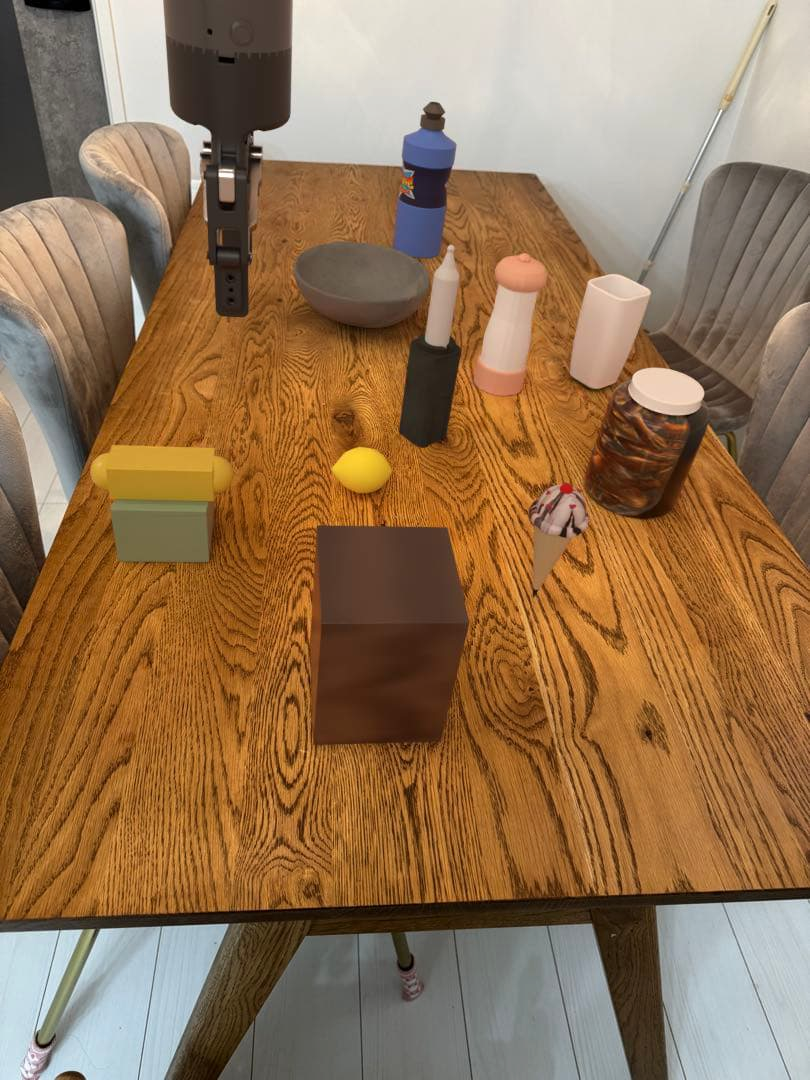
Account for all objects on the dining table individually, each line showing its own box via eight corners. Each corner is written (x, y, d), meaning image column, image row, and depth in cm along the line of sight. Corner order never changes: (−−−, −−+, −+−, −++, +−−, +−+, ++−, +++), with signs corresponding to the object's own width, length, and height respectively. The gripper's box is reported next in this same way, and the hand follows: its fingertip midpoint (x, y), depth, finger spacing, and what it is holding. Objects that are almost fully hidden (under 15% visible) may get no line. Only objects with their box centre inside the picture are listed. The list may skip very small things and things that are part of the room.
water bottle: (401, 258, 149) (418, 109, 133) (385, 238, 156) (400, 94, 140) (448, 257, 152) (470, 111, 136) (430, 238, 159) (450, 96, 143)
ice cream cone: (535, 572, 88) (568, 459, 79) (572, 604, 85) (612, 491, 75) (495, 590, 85) (525, 476, 76) (532, 625, 82) (569, 510, 72)
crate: (312, 745, 68) (321, 623, 59) (309, 646, 77) (316, 524, 67) (441, 741, 70) (469, 622, 60) (424, 645, 78) (447, 526, 69)
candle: (424, 419, 109) (452, 233, 93) (449, 437, 106) (483, 249, 90) (395, 429, 106) (419, 240, 90) (420, 449, 103) (450, 257, 87)
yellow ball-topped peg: (89, 499, 80) (84, 467, 77) (96, 474, 83) (91, 443, 80) (233, 502, 82) (232, 471, 80) (235, 478, 85) (234, 448, 82)
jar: (677, 529, 97) (723, 422, 87) (580, 506, 98) (615, 399, 88) (675, 474, 106) (716, 372, 96) (586, 454, 107) (618, 351, 97)
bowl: (437, 304, 136) (444, 258, 131) (407, 360, 121) (413, 309, 116) (317, 278, 139) (319, 231, 134) (272, 329, 123) (272, 278, 118)
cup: (625, 385, 123) (656, 292, 113) (593, 397, 119) (623, 301, 109) (589, 364, 126) (616, 272, 117) (557, 375, 123) (583, 280, 113)
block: (118, 561, 82) (109, 509, 78) (130, 505, 89) (123, 454, 84) (209, 562, 84) (206, 511, 79) (214, 507, 90) (212, 457, 86)
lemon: (387, 476, 98) (392, 438, 95) (391, 504, 94) (396, 466, 91) (329, 474, 97) (332, 436, 94) (331, 502, 93) (333, 463, 90)
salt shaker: (465, 371, 120) (489, 243, 108) (510, 369, 122) (538, 243, 110) (484, 397, 115) (511, 266, 103) (530, 394, 117) (562, 265, 105)
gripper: (176, 5, 54) (190, 246, 64) (150, 50, 43) (172, 331, 54) (291, 18, 55) (286, 253, 66) (293, 65, 44) (287, 337, 55)
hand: (235, 288), depth 60 cm, fingers open, 8 cm apart
